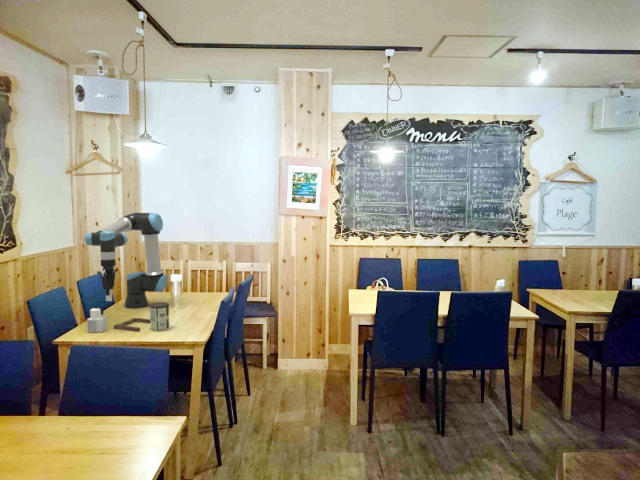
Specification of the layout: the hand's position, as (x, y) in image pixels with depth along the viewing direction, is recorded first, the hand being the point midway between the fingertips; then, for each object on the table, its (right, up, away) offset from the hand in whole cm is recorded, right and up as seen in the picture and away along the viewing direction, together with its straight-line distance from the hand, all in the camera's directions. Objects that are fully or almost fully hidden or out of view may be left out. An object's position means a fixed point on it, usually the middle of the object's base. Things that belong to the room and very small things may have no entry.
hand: (109, 300), depth 254 cm
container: (-7, -17, 0) cm, 18 cm away
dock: (+12, -16, +11) cm, 23 cm away
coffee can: (+26, -17, +7) cm, 32 cm away
